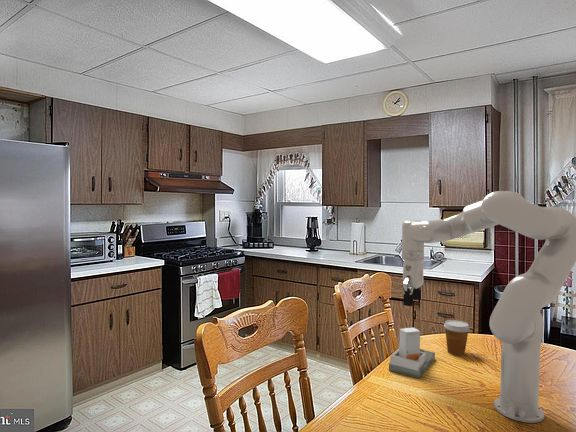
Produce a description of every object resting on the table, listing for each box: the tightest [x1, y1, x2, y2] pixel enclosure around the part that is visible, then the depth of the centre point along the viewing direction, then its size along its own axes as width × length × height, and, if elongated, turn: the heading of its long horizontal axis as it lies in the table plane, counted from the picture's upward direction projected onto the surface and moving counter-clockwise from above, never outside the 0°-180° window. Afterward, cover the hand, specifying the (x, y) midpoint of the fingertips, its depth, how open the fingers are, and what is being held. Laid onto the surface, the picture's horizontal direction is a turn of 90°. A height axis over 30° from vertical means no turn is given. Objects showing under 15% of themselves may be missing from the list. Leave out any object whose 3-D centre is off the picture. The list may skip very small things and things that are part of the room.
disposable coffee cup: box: [443, 319, 470, 357], centre depth 157 cm, size 10×10×12 cm
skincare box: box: [398, 327, 421, 361], centre depth 141 cm, size 6×4×12 cm
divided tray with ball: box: [388, 347, 436, 379], centre depth 146 cm, size 20×11×6 cm, turn 146°
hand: (412, 302), depth 141 cm, fingers open, 9 cm apart
